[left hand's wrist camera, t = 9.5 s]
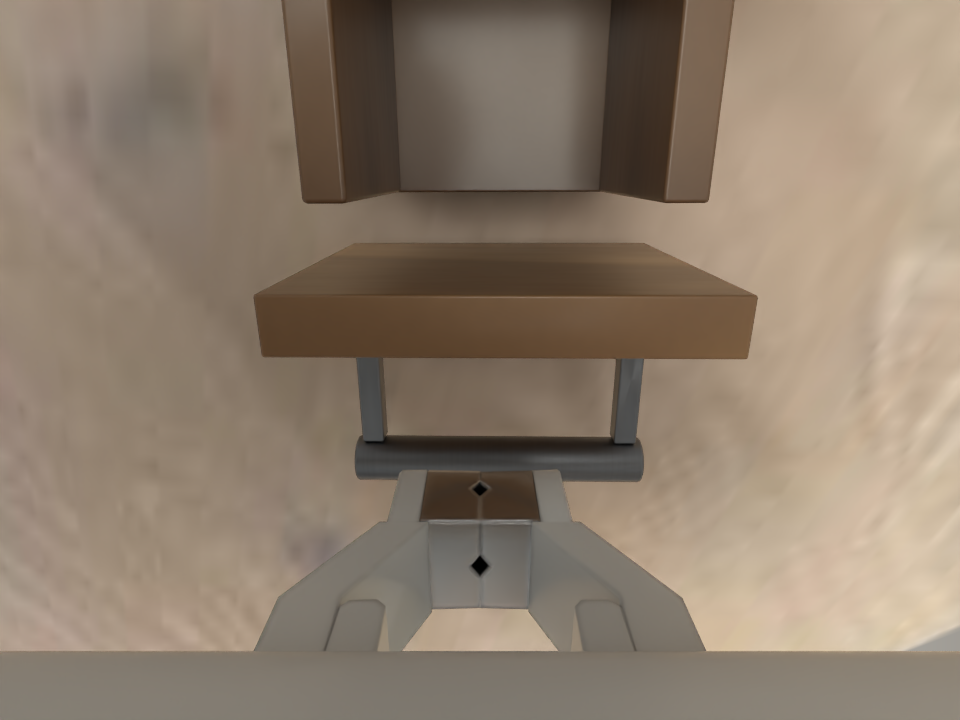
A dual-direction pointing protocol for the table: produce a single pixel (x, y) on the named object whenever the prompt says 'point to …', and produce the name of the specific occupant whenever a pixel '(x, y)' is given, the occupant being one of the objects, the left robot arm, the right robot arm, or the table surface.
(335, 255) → the drawer
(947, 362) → the table surface
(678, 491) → the table surface
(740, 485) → the table surface
